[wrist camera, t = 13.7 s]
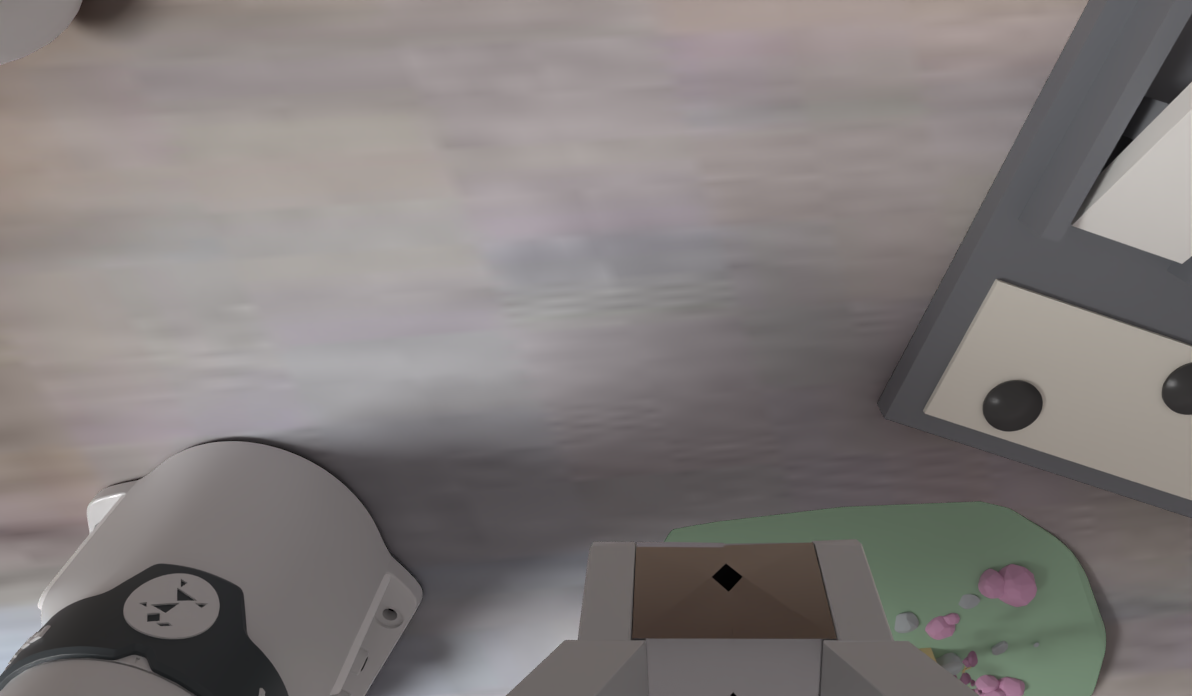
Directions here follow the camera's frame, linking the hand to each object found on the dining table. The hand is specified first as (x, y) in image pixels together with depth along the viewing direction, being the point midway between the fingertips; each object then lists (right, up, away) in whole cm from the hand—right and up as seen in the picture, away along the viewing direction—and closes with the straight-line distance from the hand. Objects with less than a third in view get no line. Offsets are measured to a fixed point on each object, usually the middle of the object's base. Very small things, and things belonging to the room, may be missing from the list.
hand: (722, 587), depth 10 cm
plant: (+14, -13, +40) cm, 44 cm away
